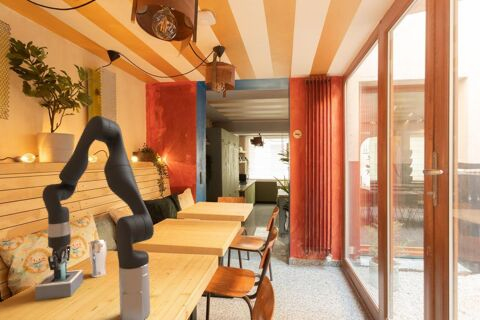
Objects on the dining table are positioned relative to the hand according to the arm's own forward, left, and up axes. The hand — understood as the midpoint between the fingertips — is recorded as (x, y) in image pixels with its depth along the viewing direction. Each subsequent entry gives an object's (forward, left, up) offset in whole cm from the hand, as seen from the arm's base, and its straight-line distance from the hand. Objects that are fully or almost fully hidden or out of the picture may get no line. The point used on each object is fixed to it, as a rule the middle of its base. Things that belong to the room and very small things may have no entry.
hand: (60, 276), depth 107 cm
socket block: (0, 0, -6) cm, 6 cm away
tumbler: (+13, -10, -6) cm, 17 cm away
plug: (0, 0, -5) cm, 5 cm away
